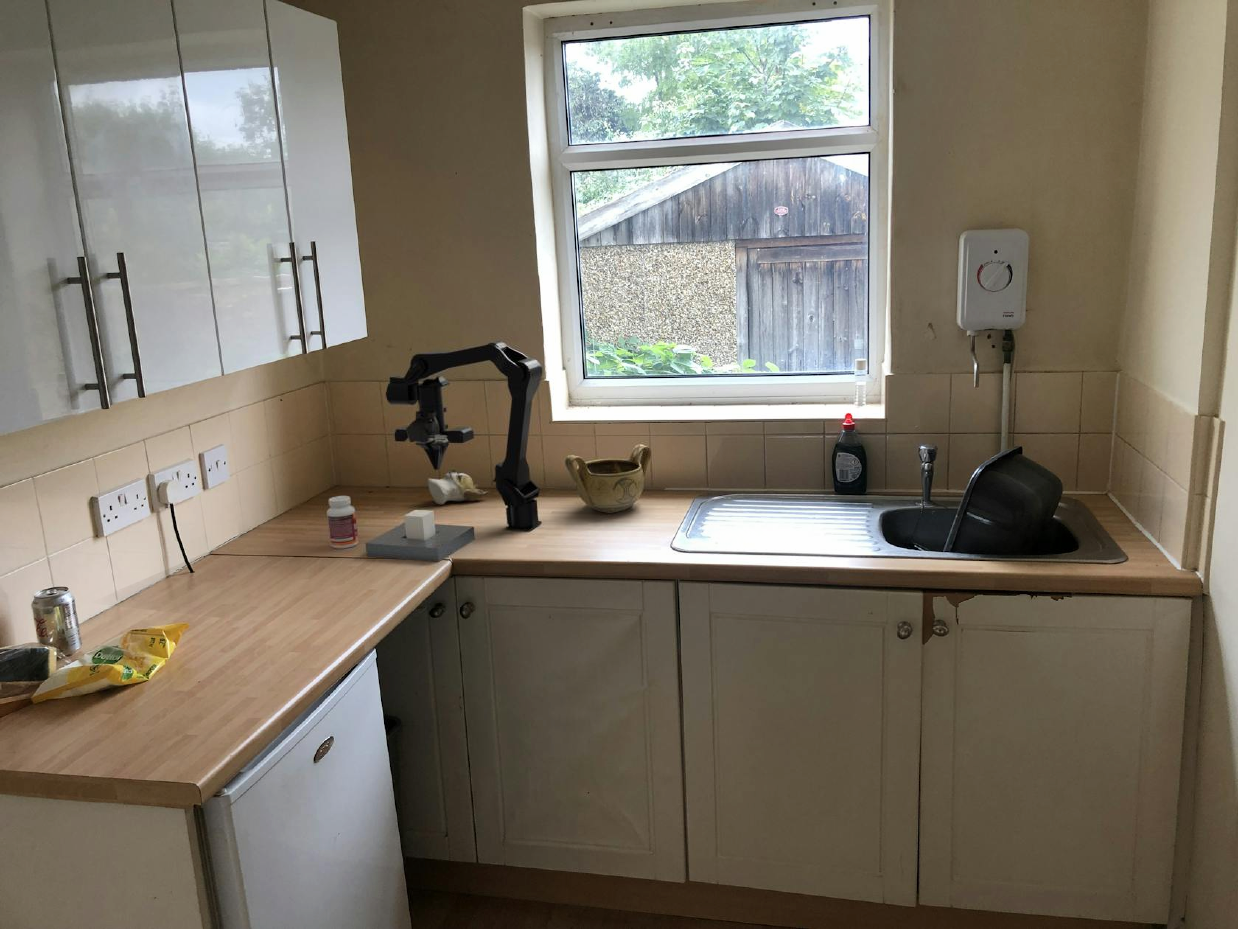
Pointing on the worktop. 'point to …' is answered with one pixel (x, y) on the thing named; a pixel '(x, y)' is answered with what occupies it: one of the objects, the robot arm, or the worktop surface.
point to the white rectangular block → (419, 524)
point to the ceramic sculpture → (454, 488)
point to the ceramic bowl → (610, 480)
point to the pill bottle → (342, 523)
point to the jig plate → (420, 543)
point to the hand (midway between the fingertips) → (436, 469)
